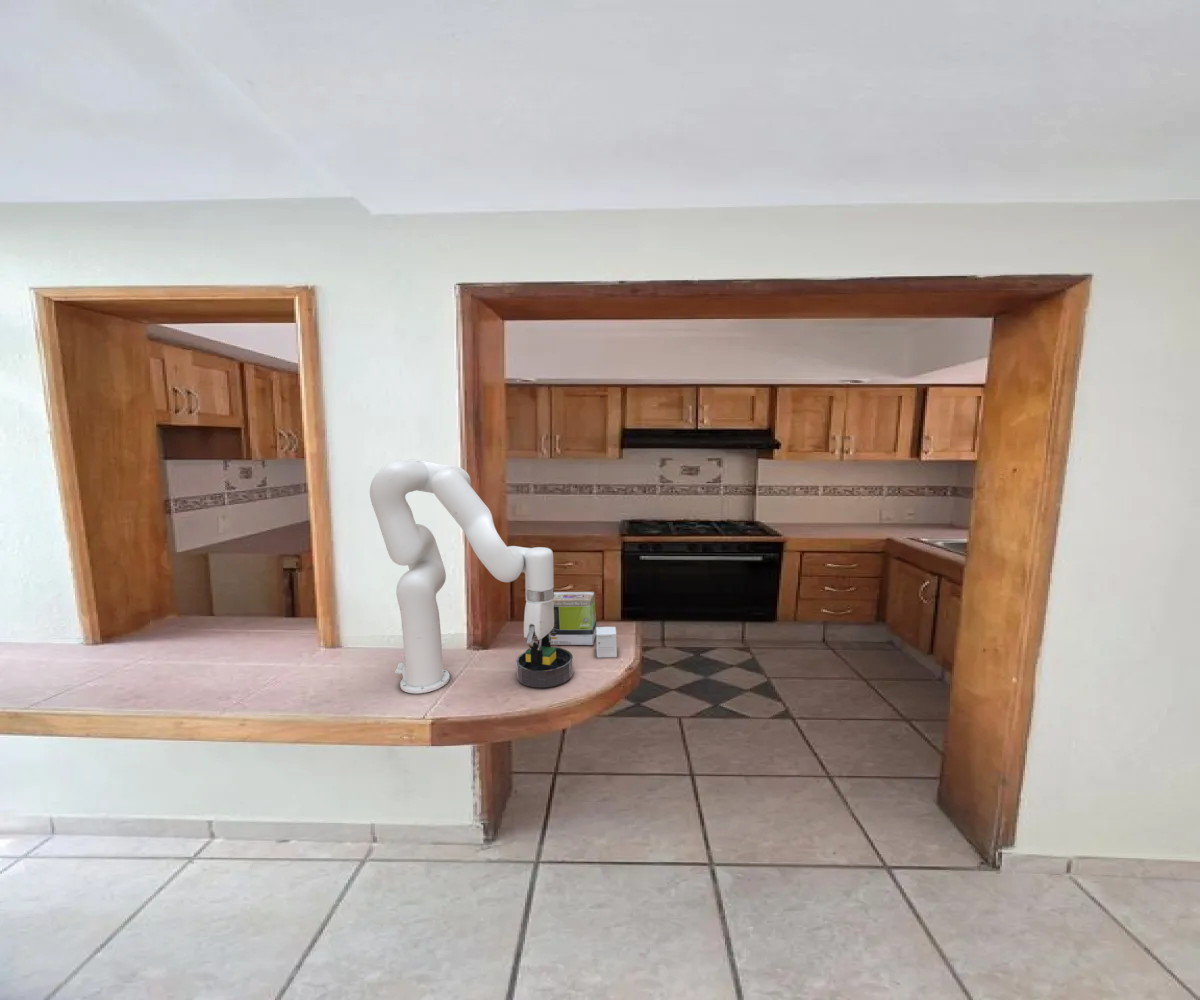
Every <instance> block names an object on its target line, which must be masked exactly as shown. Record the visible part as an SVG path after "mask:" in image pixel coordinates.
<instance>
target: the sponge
mask: <svg viewBox="0 0 1200 1000" xmlns="http://www.w3.org/2000/svg"><path fill="white" fill-rule="evenodd" d="M553 647H554V646H551V647H546V646H541V649H542V658H543V663H542V664H545V665H550V664H551V663H552V662H553V661H554V660H555V659H556V648H557V647H556V648H553ZM525 652H526V662H531V650H530V647H528V648H527V649H526V650H525Z"/></svg>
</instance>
